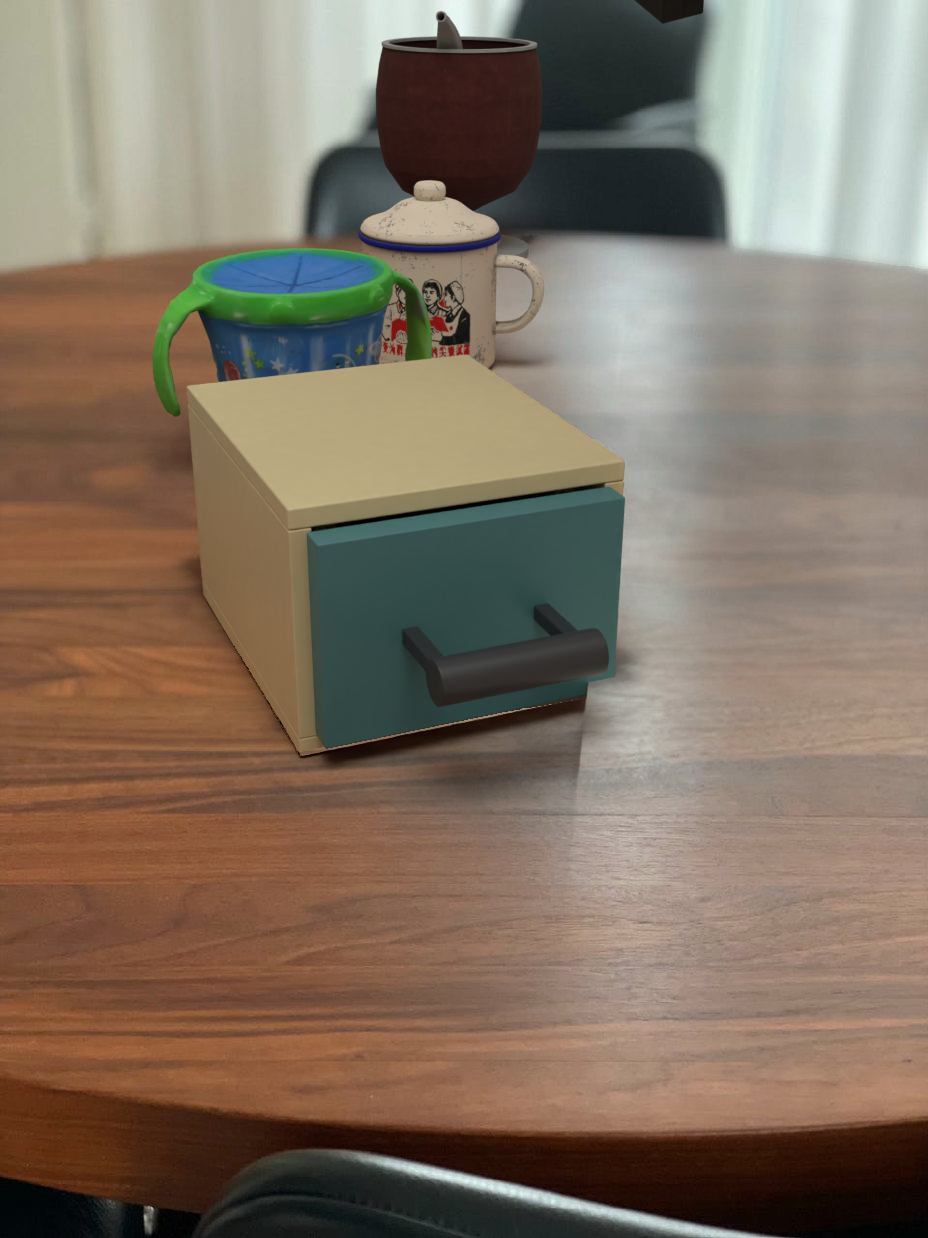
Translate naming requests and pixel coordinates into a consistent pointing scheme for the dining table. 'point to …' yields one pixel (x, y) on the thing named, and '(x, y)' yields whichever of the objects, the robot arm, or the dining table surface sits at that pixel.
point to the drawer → (462, 611)
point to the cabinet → (352, 485)
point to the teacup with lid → (445, 273)
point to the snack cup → (290, 315)
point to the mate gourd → (460, 115)
